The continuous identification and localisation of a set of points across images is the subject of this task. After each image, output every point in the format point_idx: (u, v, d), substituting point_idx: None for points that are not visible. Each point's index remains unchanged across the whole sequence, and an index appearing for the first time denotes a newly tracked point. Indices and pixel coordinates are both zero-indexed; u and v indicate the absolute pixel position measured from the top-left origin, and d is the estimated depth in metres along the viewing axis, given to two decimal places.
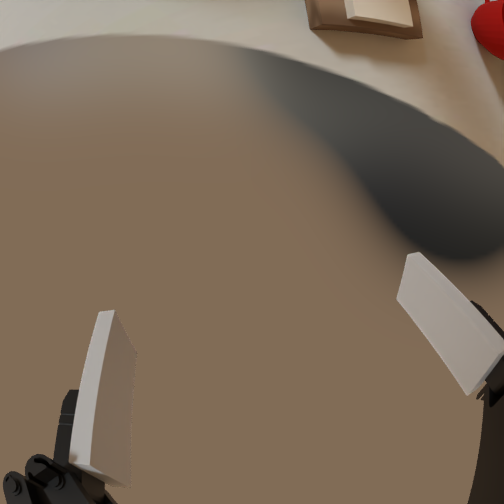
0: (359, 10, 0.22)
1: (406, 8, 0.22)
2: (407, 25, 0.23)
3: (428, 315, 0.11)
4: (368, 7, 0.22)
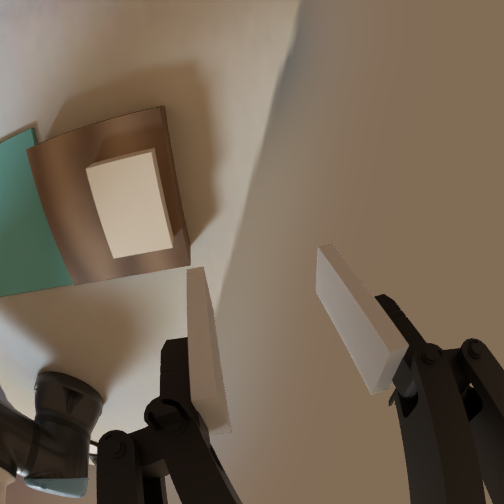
0: (162, 243, 0.26)
1: (122, 166, 0.21)
2: (153, 160, 0.22)
3: (336, 308, 0.12)
4: (151, 230, 0.25)
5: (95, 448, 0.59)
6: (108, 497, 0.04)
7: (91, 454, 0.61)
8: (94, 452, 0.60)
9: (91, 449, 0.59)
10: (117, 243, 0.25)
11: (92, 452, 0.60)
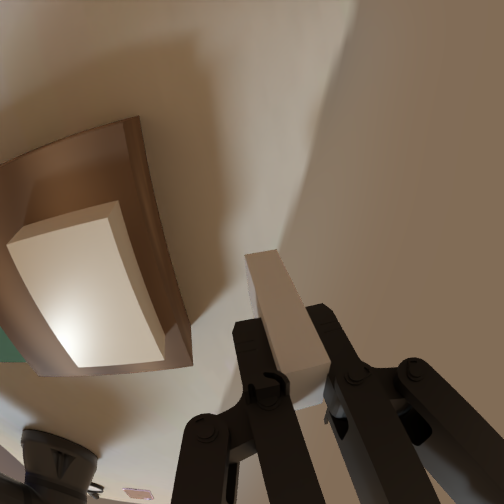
0: (147, 354, 0.15)
1: (61, 243, 0.11)
2: (113, 230, 0.11)
3: None
4: (127, 339, 0.14)
5: (93, 487, 0.48)
6: (188, 484, 0.05)
7: (89, 491, 0.50)
8: (92, 489, 0.50)
9: (89, 487, 0.48)
10: (78, 350, 0.14)
11: (90, 489, 0.49)
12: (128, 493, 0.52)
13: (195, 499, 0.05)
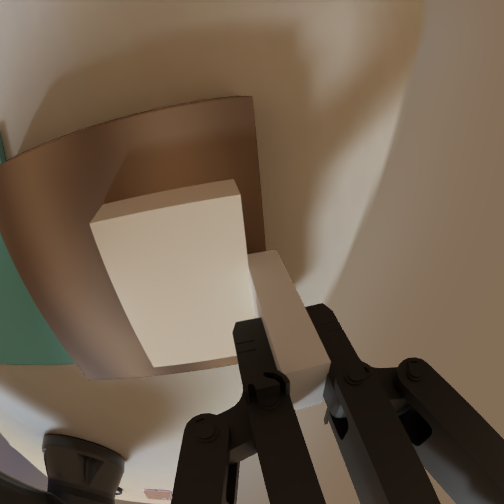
0: None
1: (173, 222, 0.11)
2: None
3: None
4: (225, 331, 0.14)
5: None
6: (188, 484, 0.05)
7: None
8: None
9: None
10: (160, 348, 0.14)
11: None
12: (147, 494, 0.52)
13: (195, 499, 0.05)
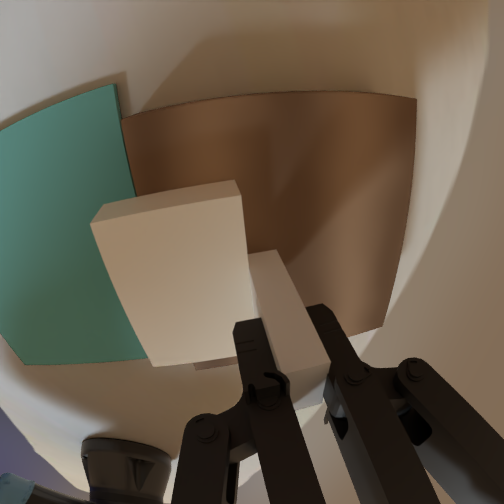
0: None
1: (174, 223, 0.11)
2: None
3: None
4: (226, 331, 0.14)
5: None
6: (189, 484, 0.05)
7: None
8: None
9: None
10: (159, 348, 0.14)
11: None
12: None
13: (195, 499, 0.05)
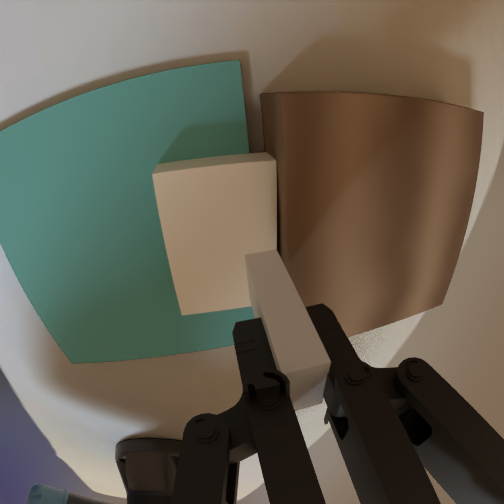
0: None
1: (223, 178, 0.14)
2: None
3: None
4: None
5: None
6: (188, 484, 0.05)
7: None
8: None
9: None
10: (191, 295, 0.17)
11: None
12: None
13: (195, 499, 0.05)
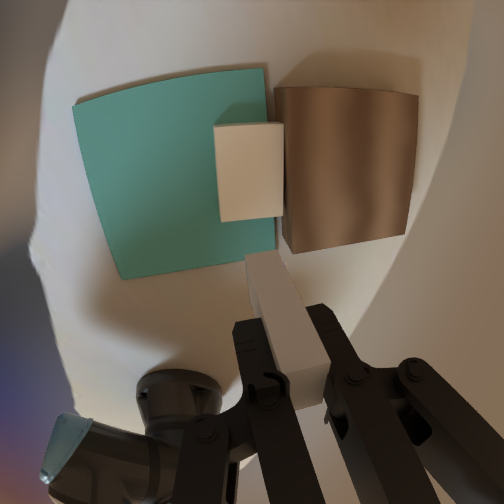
0: (274, 210, 0.28)
1: (254, 132, 0.23)
2: None
3: None
4: (267, 196, 0.27)
5: None
6: (188, 484, 0.05)
7: None
8: None
9: None
10: (229, 206, 0.27)
11: None
12: None
13: (195, 499, 0.05)
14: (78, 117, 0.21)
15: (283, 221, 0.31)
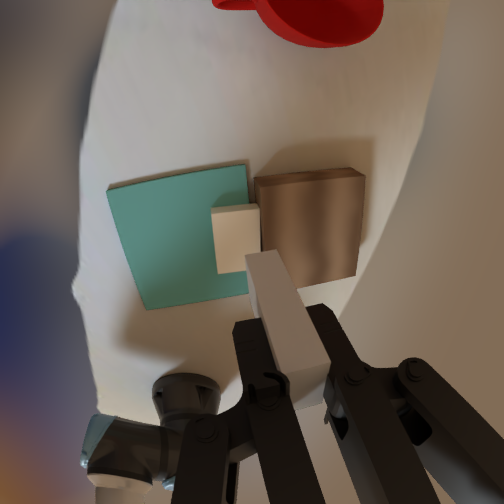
0: None
1: (239, 216, 0.36)
2: None
3: None
4: None
5: None
6: (188, 484, 0.05)
7: None
8: None
9: None
10: (223, 264, 0.39)
11: None
12: None
13: (195, 499, 0.05)
14: (111, 199, 0.34)
15: None
